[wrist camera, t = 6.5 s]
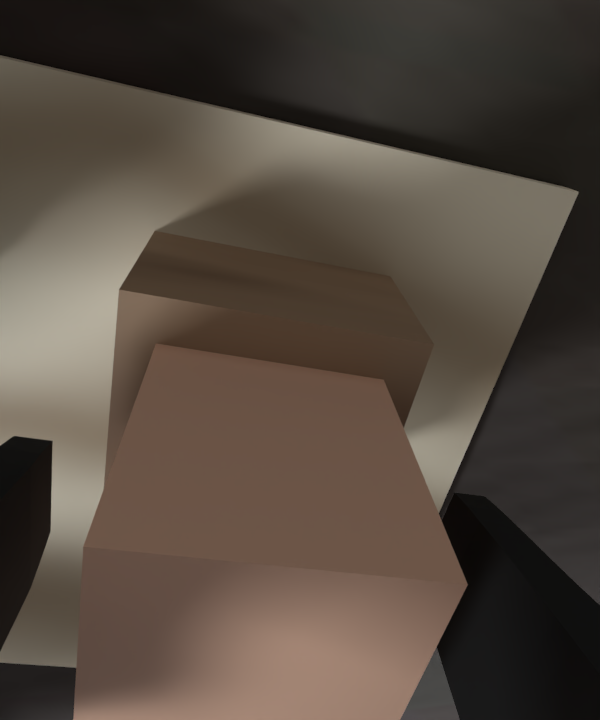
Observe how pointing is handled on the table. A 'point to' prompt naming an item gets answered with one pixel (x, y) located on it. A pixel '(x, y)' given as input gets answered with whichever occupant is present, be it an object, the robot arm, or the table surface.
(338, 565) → the clay block
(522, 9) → the table surface
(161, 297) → the walnut block
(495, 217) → the birch board
